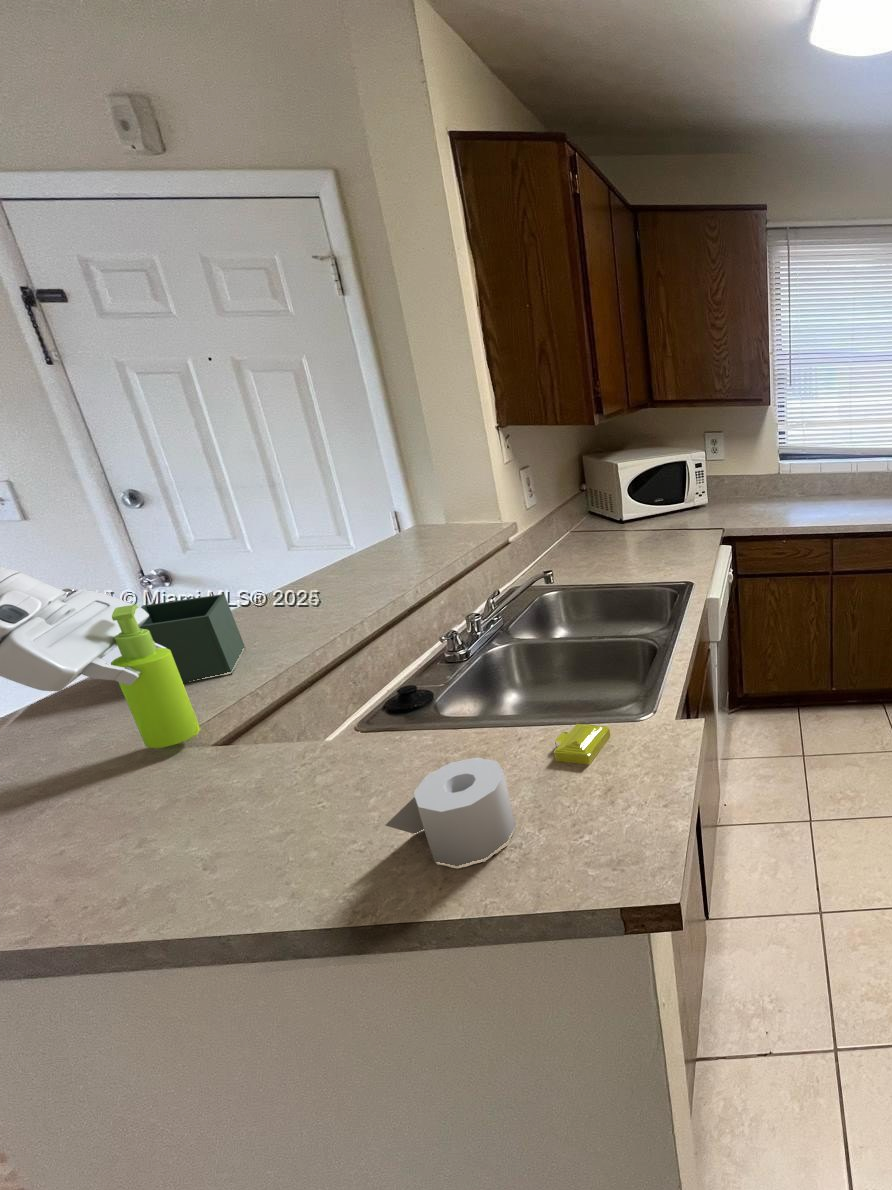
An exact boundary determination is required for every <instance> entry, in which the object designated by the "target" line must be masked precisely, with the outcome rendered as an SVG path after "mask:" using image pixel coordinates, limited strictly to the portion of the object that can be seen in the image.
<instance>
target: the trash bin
mask: <svg viewBox="0 0 892 1190" xmlns="http://www.w3.org/2000/svg"><path fill="white" fill-rule="evenodd" d="M140 608H142V609H144V610H145V611H146V612H147V613H148V614H149V617H148V618H147V620H146V621H145V622H144V623H143V624H142V625H141V626H140V628H142V629H147V630H149V631H150V634H151V636H152V639H153V641H154V643H157V644H159V645H161V646H164V647H166V648H167V649H169V650H170V651H171V653H172V656H173V658H174V661H175V664H176V666H177V669H178V671H179V674H180V677H181V679H182V682H183V683H184V682H189V681H193V680H197V679H202V678H205V677H210V676H215V675H220V674H224V673H227V672H231V671H232V669H233V667H234V665H235V663H236V661H237V659H238V658H239V655H240V654H241V652H242V649H243V648H244V646H245V643H244V641H243V638H242V635H241V633H240V630H239V628H238V625H237V623H236V620H235V617H234V616H233V612H232V610H231V608H230V604H229V602H228V600H227V597H226V594H225V593H222V594H216V595H209V596H208V595H207V596H201V597H193V598H186V599H179V600H172V601H171V600H170V601H165V602H158V603H150V604H143V605H142V606H141V607H140ZM189 683H190V682H189ZM184 684H185V683H184Z"/></svg>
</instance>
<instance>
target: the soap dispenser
mask: <svg viewBox="0 0 892 1190" xmlns="http://www.w3.org/2000/svg"><path fill="white" fill-rule="evenodd" d="M138 607H139V604H133V605H129V606H123V607H117V608H115V610H114V612H113V614H112V619H113V621H115V620H117V622H118V624H119V627H120V629H121V633H119V634H118V635H116V636H115V641H116V643H117V646H116V647H117V648H118V651H119V653H120V655H121V656H117V657H116V658H115V659H113V660H112V661H111V662H110V665H114V666H119V667H124V668H126V667H127V666H128V665H129V666H131V667H134V668H135V669H139V670H141V671H142V674H141V676H140V677H139V678H138V679H137V680H136V681H135V682H134V683H133V684H131V685H126V684H123V683H120V682H118V684H119V687H120V689H121V691H122V694H123V696H124V699H125V702H126V703H127V706H128V708H129V710H130V713H131V715H132V717H133V720H134V721H135V725H136V727H137V729H138V731H139V734H140V736H141V738H142V741H143V743H144V746H145V747H147V748H149V749H160V748H166V747H171V746H175V745H178V744H181V743H184V742H186V741H188V740H190V739H192V738H194V737H196V736H197V735H198V734H199V733H200V732H201V726H200V723H199V721H198V718H197V716H196V713H195V711H194V707H193V706H192V703H191V700H190V698H189V694H188V692H187V690H186V686H185V683H184V684H183V682H182V679H181V677H180V674H179V671H178V669H177V666H176V664H175V661H174V658H173V656H172V653H171V651H170V650H169V649H167V648H156V646H155V644H154V641H153V639H152V636H151V634H150V631H149V630H147V629H142V628H139V627H138V624H137V622H136V619H135V617H134V613H135V611H136V609H137V608H138Z"/></svg>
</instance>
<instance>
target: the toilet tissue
mask: <svg viewBox="0 0 892 1190" xmlns="http://www.w3.org/2000/svg"><path fill="white" fill-rule="evenodd" d="M514 815H515V814H514V811H513V806H512V802H511V797H510V794H509V788H508V783H507V779H506V774H505V772H504V770H503V769H502V767H501V765H500V764H499V762H498V761H497V760H493V759H489V758H488V759H487V758H483V757H478V756H475V757H470V758H466V759H461V760H456V761H452V762H451V761H450V762H448V763H447V764H445V765H443V766H441V767H439V768H438V769H436V770H434V771H432V772H431V773H429V774H427V775H425V776H424V777H423V779H422V780H421V782H420V783H419V784H418V786H417V787H416V789H415V790H414V791H413V798H411V799H410V800H409V802H407V803H406V804H405V805H404V806H403V807H402V808H401V809H400V810H399V811H398V812H397V813H396V814H395V815H394V816H393V817H392V818H391V819H390V820H389V821H387V822H386V823H385V824H384V826H385V827H388V828H391V829H395V830H399V831H403V832H407V833H410V834H414V833H416V834H418V833H420V832H422V831H421V830H423V829H424V830H423V831H424V833H425V838H426V840H427V843H428V848H429V851H430V850H431V851H430V853H431V855H433V856H432V859H433V861H434V860H435V861H434V863H435V862H440V863H445V864H450V865H455V866H459V865H462V864H466V863H470V862H472V861H477V860H481V859H484V858H486V857H488V856H489V855H490V854H491V853H493V852H494V851H495V850H497V849H498V848H499V847H500V846H502V845H503V844H504V843H506V842H507V841H508V839H509V836H510V835H511V833H512V831H513V829H514V827H515V825H516V826H517V824H516V821H515V816H514ZM419 831H420V832H419ZM417 832H418V833H417ZM414 835H415V834H414Z"/></svg>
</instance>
